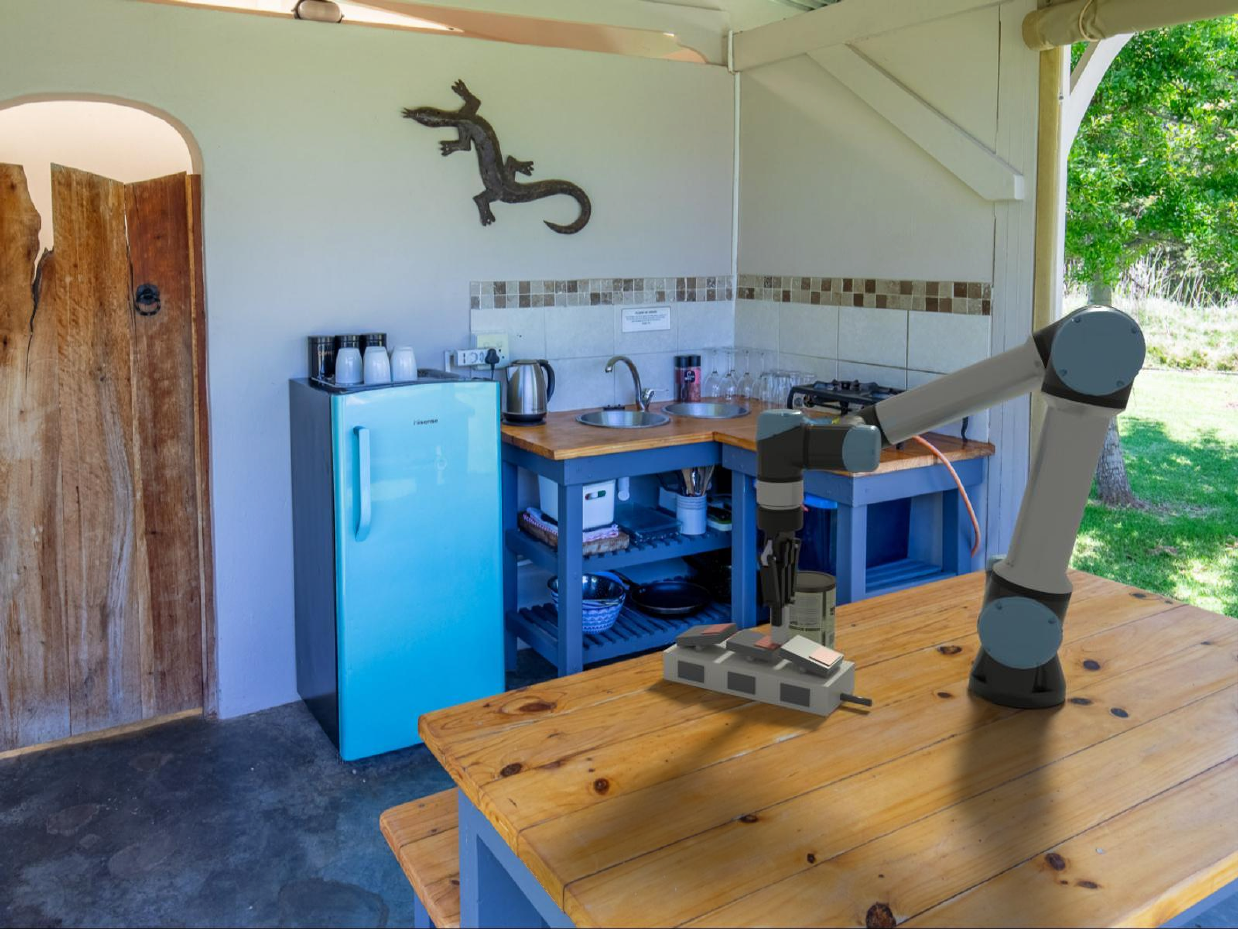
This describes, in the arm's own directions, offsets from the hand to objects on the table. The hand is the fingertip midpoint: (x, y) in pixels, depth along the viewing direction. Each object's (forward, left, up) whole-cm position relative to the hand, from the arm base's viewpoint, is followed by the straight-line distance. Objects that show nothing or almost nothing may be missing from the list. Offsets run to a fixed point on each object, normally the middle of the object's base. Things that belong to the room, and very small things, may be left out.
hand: (779, 642), depth 176 cm
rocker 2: (+4, 0, -2) cm, 5 cm away
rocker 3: (-5, 0, -2) cm, 6 cm away
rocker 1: (+14, 0, -2) cm, 14 cm away
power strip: (+2, 0, -8) cm, 9 cm away
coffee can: (+3, -19, -9) cm, 21 cm away
